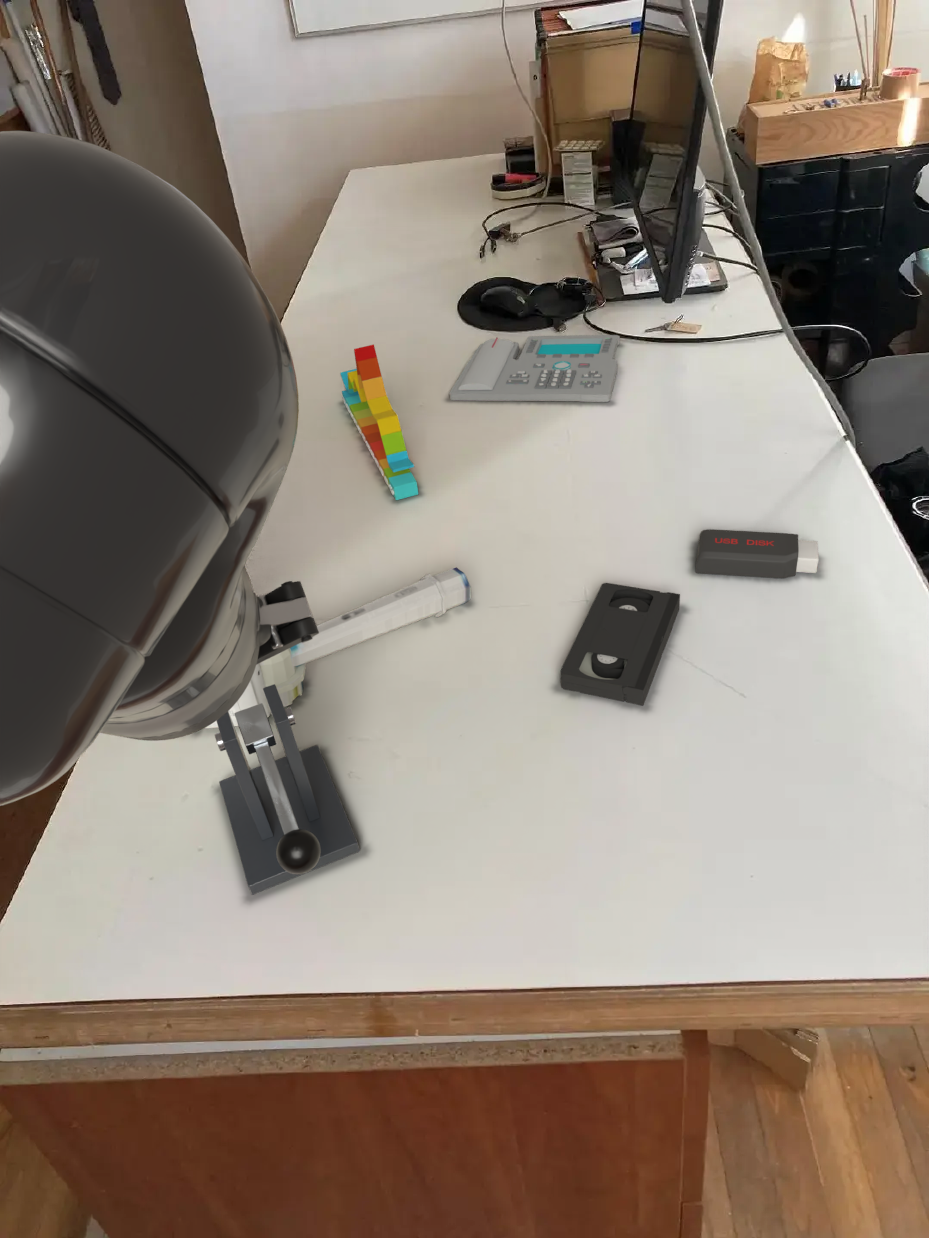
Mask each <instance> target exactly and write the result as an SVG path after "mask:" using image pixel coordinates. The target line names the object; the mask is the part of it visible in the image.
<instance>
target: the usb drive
mask: <svg viewBox="0 0 929 1238" xmlns="http://www.w3.org/2000/svg"><path fill="white" fill-rule="evenodd" d="M695 560H696V563H695V573H696V574H702V575H703V574H705V575H717V576H718V575H720V576H733V577H735V576H736V577H750V578H751V577H752V578H765V579H787V578H788V579H789V578H792V577H796V576H797V575H796V574H797V573H807V574H817V571H818V565H819V542H818V540H804V539H802V540H801V539H799V534H797V533H789V532H772V531H771V532H769V531H751V530H734V529H733V530H731V529H713V528H712V529H711V528H710V529H703V530H702V531H700V533H699V535H698V545H697V552H696V559H695Z"/></svg>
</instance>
